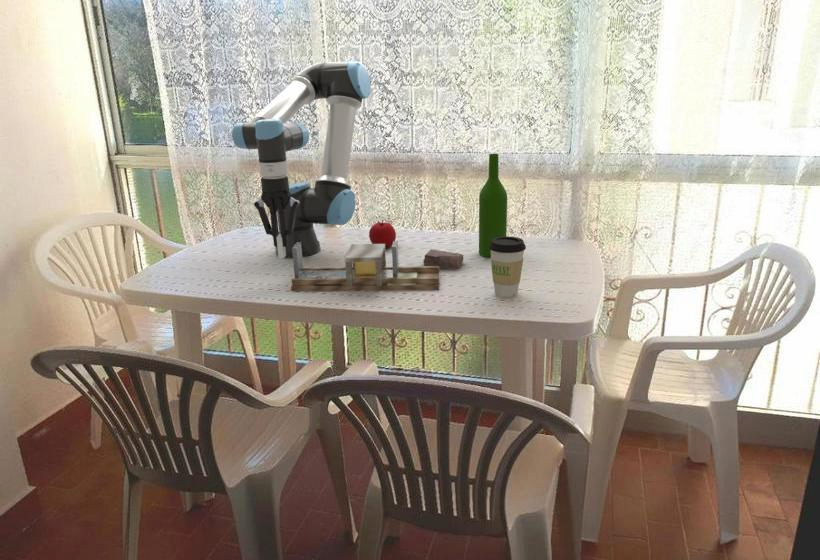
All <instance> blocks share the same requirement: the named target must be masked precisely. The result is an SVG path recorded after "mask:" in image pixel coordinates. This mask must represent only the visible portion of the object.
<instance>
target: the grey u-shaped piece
mask: <svg viewBox="0 0 820 560" xmlns="http://www.w3.org/2000/svg"><path fill="white" fill-rule="evenodd" d="M292 254H293V257H292V261H293V263H292V264H293V271H294V273H293V274H294V279H318V278H346V270H303V268H304V262H303V260H304V259H303V257H302V248H301V242H297V243H296V244H295V245H294V246H293V248H292ZM391 258H392V259H391V260H392V261H391V262H392V263H391V264H392V267H393V270H382V278H398V274H399V267H400V266H399V264H400V263H399V242H398V240H395V241H393V245H392V246H391ZM354 263H355V270H352V273H353V278H376V269H375V262H354Z"/></svg>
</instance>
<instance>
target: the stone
mask: <svg viewBox="0 0 820 560" xmlns="http://www.w3.org/2000/svg"><path fill="white" fill-rule="evenodd" d="M463 261H464V254H463V253H459V252H452V251H446V250H439V249H432V248H431V249H430V250H428V251H427V252H426V254H425V255H424V259H423V266H439V269H444V270H456V271H457V270H460V269H461V267H462V265H463Z"/></svg>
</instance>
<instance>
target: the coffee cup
mask: <svg viewBox="0 0 820 560" xmlns="http://www.w3.org/2000/svg"><path fill="white" fill-rule="evenodd" d="M526 247H527V246H526V243H525V242H524V239H522V238H520V237H517V236H507V235H506V236H505V237H497V238H494V239H492V240H491V243H490V244H489V249H490V251H491V258H490V265H491V273H492V274H491V275H492V282H493V287H494V295H495V296H497V297H500V298H513V297H517V296H518V293H519V285H520V282H521V276H522V271H523V263H524V252H525V250H526Z"/></svg>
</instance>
